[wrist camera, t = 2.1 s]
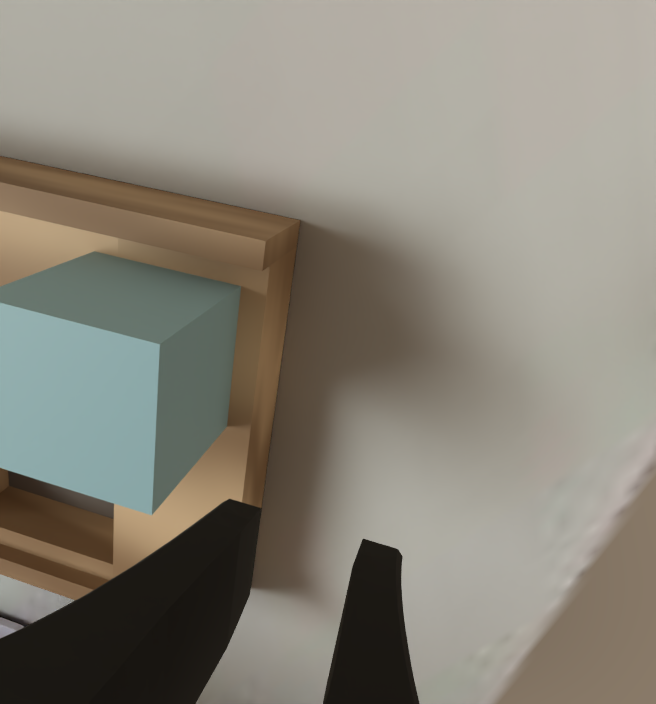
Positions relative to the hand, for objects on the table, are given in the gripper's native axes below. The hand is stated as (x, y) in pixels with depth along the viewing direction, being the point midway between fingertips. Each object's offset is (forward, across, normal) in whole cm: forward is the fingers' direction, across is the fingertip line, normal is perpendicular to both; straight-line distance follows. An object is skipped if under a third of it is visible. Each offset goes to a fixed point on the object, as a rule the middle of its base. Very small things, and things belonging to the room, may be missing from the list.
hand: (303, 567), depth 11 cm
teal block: (+7, +6, 0) cm, 10 cm away
